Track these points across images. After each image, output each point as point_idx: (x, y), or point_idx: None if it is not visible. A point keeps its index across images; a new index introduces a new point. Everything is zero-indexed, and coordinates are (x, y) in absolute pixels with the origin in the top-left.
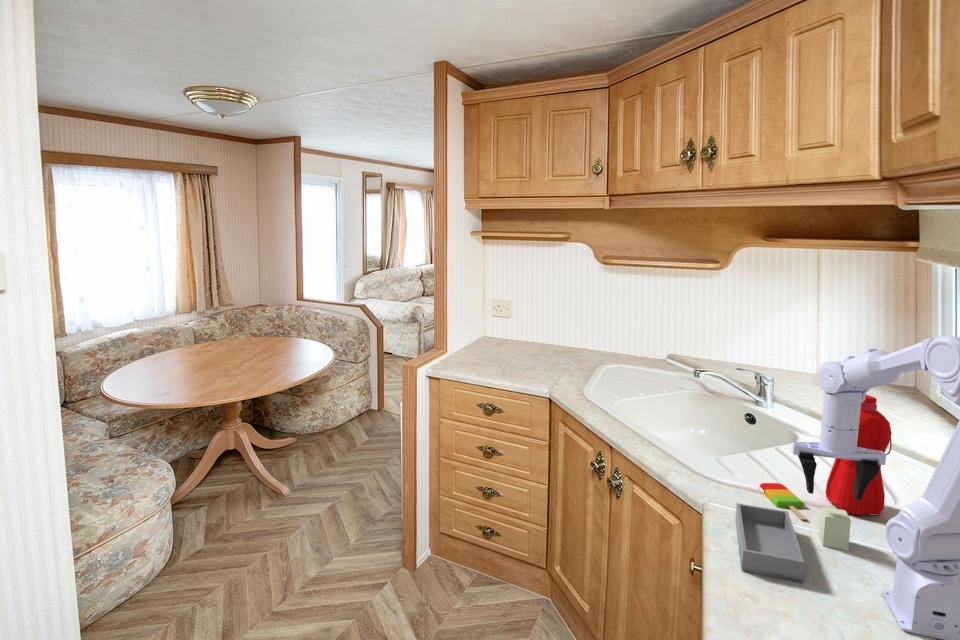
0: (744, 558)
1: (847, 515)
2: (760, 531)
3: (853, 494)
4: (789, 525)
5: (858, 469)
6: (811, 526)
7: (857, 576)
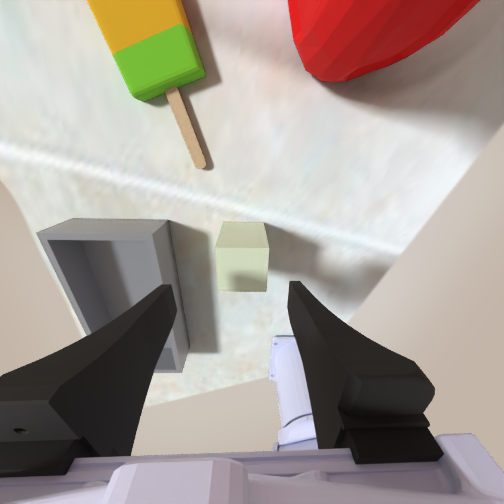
0: None
1: (266, 271)
2: (123, 261)
3: (289, 282)
4: None
5: (320, 379)
6: (215, 187)
7: (255, 315)
